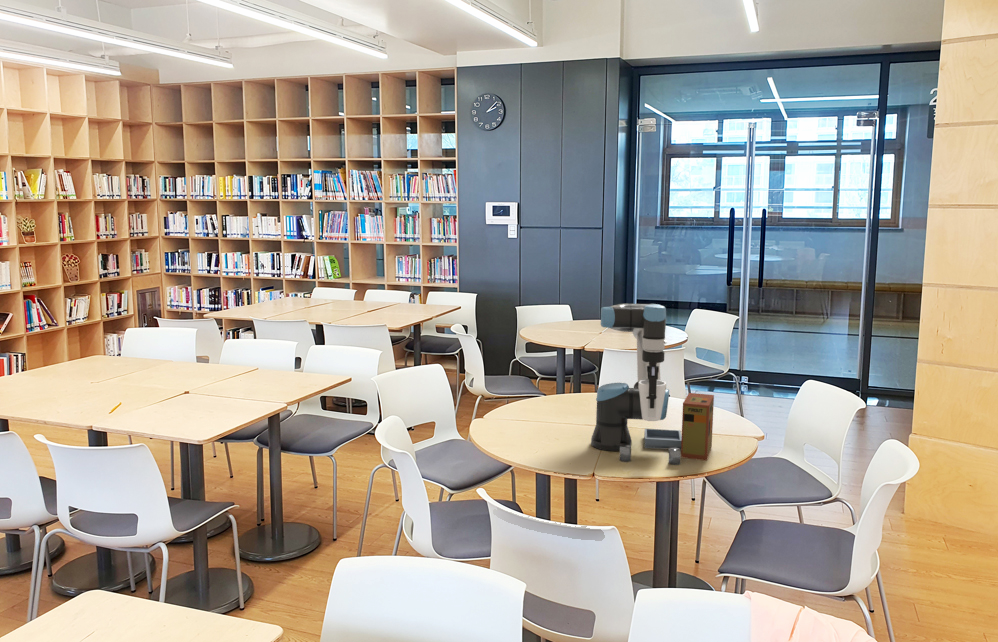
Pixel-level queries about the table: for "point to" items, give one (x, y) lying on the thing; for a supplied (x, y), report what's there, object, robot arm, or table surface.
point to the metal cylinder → (625, 453)
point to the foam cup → (644, 393)
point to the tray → (662, 438)
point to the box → (697, 426)
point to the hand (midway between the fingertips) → (651, 413)
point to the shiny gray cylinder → (674, 456)
